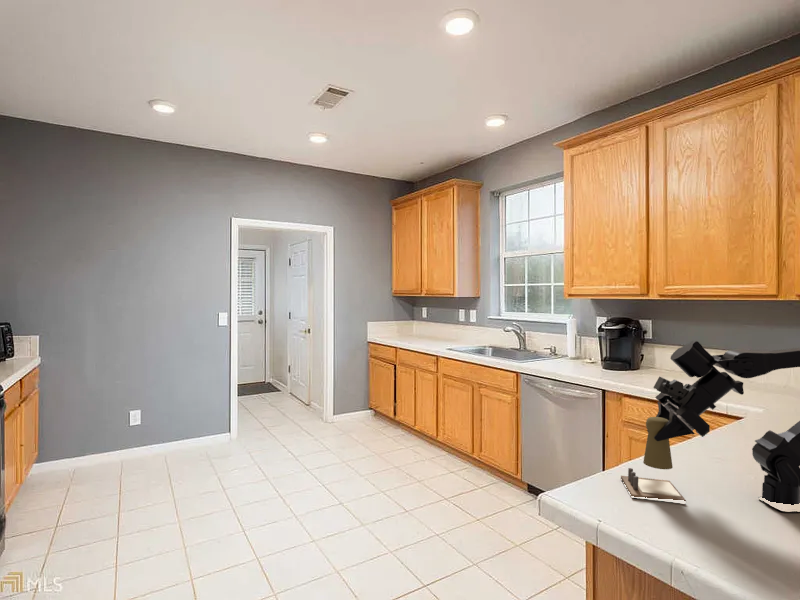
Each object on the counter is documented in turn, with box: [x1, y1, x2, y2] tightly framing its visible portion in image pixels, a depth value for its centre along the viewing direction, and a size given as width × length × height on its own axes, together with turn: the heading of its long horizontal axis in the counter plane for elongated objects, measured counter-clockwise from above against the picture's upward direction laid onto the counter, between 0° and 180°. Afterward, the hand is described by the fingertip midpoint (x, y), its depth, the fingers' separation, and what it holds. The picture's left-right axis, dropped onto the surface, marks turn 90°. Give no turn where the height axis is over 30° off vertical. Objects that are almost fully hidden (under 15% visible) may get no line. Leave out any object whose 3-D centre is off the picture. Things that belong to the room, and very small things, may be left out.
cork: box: [642, 416, 673, 470], centre depth 107 cm, size 6×6×11 cm
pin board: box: [620, 467, 687, 502], centre depth 108 cm, size 11×11×4 cm
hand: (651, 436), depth 107 cm, fingers closed on cork, 5 cm apart
